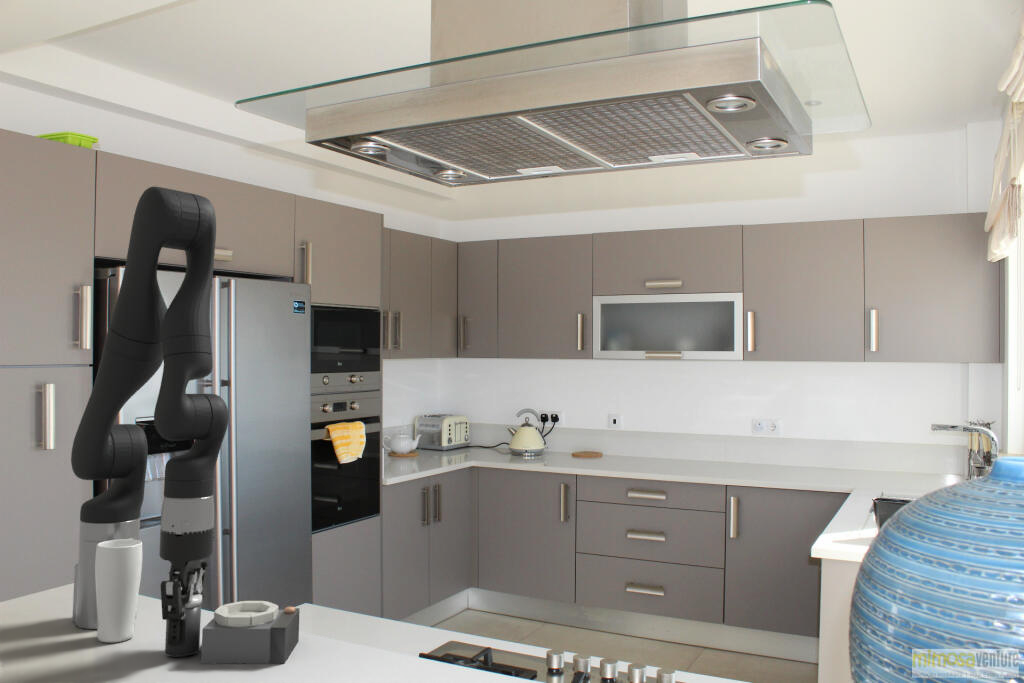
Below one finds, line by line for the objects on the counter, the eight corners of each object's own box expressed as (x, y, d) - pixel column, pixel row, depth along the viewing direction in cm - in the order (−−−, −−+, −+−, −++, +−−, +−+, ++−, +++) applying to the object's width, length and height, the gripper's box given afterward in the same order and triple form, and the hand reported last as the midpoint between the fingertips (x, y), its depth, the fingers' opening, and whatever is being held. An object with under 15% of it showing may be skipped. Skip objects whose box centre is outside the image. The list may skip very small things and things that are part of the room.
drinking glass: (120, 647, 125) (124, 548, 126) (81, 643, 126) (86, 546, 127) (148, 633, 131) (152, 540, 132) (111, 630, 133) (115, 537, 134)
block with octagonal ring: (201, 663, 119) (202, 618, 119) (221, 641, 128) (223, 599, 129) (284, 663, 119) (286, 618, 119) (298, 641, 129) (299, 600, 129)
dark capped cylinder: (156, 652, 121) (159, 598, 121) (184, 643, 126) (186, 591, 126) (180, 658, 119) (182, 603, 119) (207, 649, 123) (209, 595, 124)
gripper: (178, 516, 130) (174, 624, 129) (143, 534, 116) (138, 655, 115) (226, 517, 130) (222, 625, 130) (197, 535, 116) (192, 656, 115)
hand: (182, 638), depth 122 cm, fingers closed on dark capped cylinder, 4 cm apart
